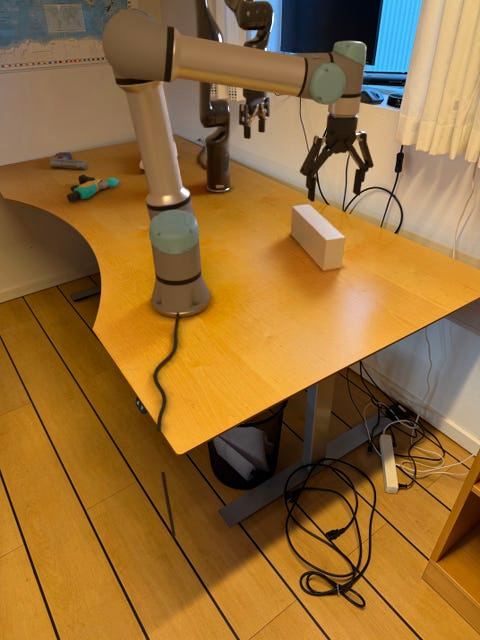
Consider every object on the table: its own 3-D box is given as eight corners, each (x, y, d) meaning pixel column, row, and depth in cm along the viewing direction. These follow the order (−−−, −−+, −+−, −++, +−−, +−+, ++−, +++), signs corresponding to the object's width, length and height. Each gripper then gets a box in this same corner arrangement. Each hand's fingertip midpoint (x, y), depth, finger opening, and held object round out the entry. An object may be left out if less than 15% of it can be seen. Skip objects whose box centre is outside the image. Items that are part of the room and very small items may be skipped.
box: (341, 267, 139) (345, 237, 134) (323, 270, 138) (326, 240, 132) (306, 231, 159) (309, 203, 153) (290, 234, 158) (292, 206, 152)
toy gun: (98, 160, 223) (83, 171, 211) (61, 158, 226) (45, 169, 214) (96, 152, 220) (81, 162, 208) (59, 150, 223) (43, 160, 212)
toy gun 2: (44, 189, 181) (74, 196, 175) (91, 169, 199) (119, 175, 193) (47, 200, 183) (76, 207, 178) (93, 180, 202) (121, 186, 196)
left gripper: (379, 106, 123) (367, 186, 135) (290, 114, 117) (286, 197, 129) (395, 113, 117) (381, 196, 129) (302, 121, 111) (296, 207, 124)
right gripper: (257, 75, 151) (256, 128, 160) (231, 82, 141) (232, 138, 151) (277, 77, 147) (275, 131, 157) (252, 85, 138) (252, 142, 147)
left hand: (333, 196), depth 129 cm, fingers open, 13 cm apart
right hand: (254, 135), depth 154 cm, fingers open, 8 cm apart
